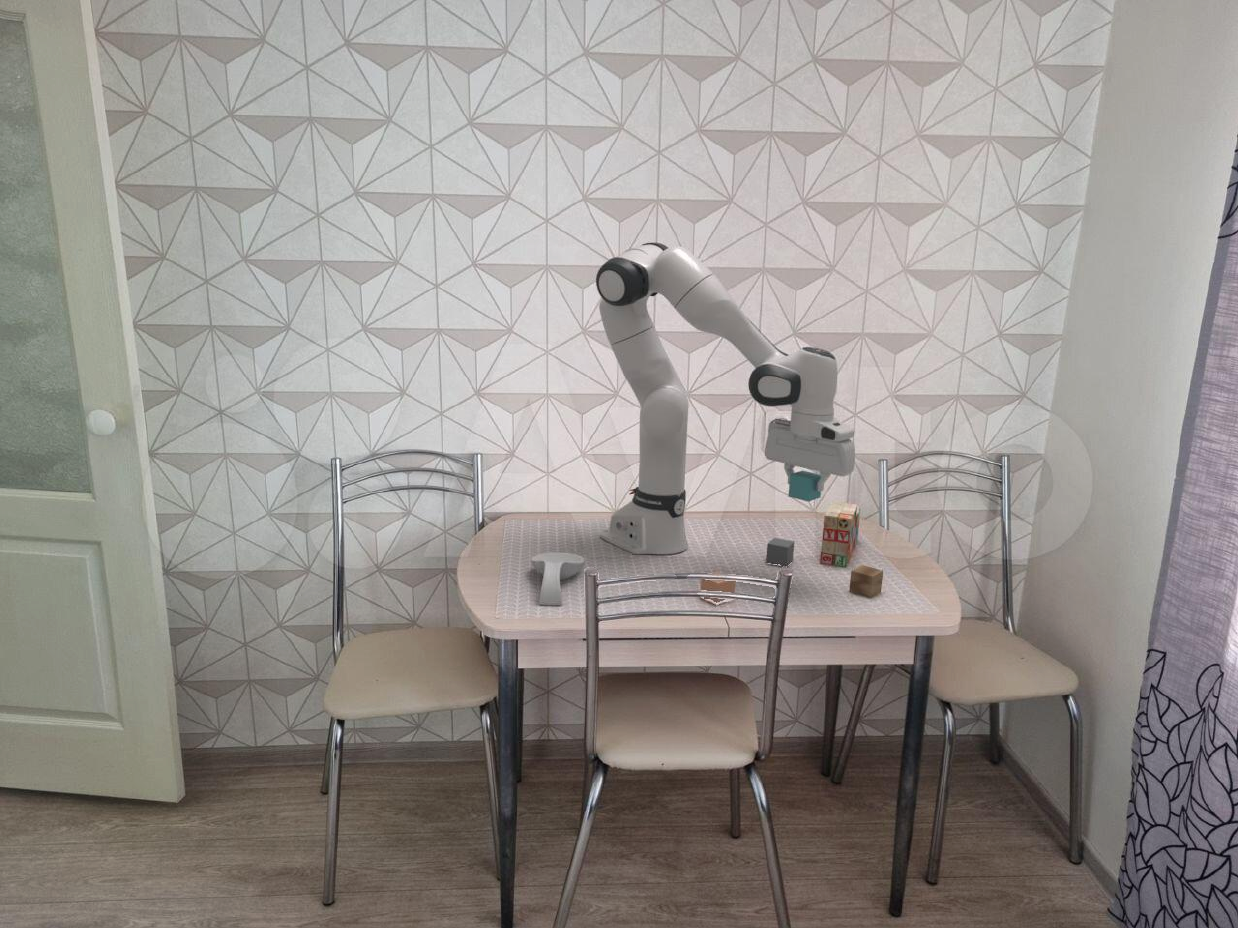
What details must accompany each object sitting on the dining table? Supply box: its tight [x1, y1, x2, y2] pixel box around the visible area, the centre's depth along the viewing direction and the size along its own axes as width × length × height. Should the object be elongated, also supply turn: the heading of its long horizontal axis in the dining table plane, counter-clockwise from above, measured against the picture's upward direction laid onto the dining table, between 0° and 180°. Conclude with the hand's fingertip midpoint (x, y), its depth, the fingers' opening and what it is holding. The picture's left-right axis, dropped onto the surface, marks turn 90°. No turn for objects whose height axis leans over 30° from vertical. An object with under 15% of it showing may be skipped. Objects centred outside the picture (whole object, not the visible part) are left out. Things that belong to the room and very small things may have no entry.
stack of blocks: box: [819, 501, 861, 569], centre depth 218 cm, size 21×6×12 cm, turn 159°
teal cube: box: [788, 470, 822, 503], centre depth 194 cm, size 5×5×5 cm
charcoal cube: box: [765, 537, 795, 568], centre depth 211 cm, size 5×5×5 cm
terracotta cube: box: [700, 571, 736, 603], centre depth 188 cm, size 5×5×5 cm
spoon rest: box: [530, 552, 585, 607], centre depth 193 cm, size 24×12×7 cm, turn 0°
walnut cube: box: [848, 564, 884, 599], centre depth 194 cm, size 5×5×5 cm
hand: (805, 487), depth 194 cm, fingers closed on teal cube, 5 cm apart
